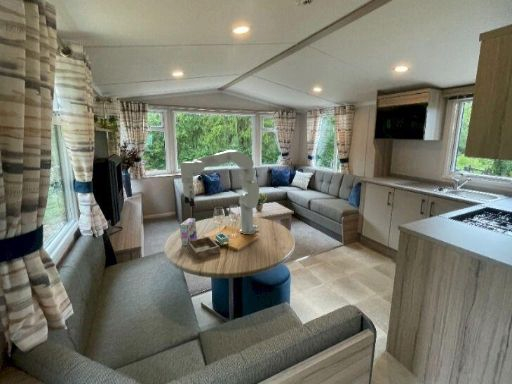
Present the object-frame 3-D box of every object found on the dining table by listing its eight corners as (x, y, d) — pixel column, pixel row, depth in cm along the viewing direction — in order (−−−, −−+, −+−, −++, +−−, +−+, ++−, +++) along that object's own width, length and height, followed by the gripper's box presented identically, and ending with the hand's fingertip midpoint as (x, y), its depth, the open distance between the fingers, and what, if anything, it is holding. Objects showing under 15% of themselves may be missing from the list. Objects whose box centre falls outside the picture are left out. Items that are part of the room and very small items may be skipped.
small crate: (223, 239, 191) (222, 232, 190) (228, 243, 183) (228, 237, 182) (215, 240, 188) (215, 234, 187) (221, 245, 180) (220, 239, 179)
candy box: (189, 246, 180) (187, 224, 177) (181, 246, 182) (179, 224, 178) (197, 238, 194) (195, 218, 190) (190, 238, 195) (188, 217, 191)
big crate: (209, 242, 186) (208, 236, 185) (220, 253, 169) (219, 246, 168) (187, 248, 178) (187, 241, 177) (196, 259, 161) (196, 252, 160)
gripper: (197, 181, 166) (199, 206, 170) (188, 177, 180) (190, 201, 184) (186, 182, 162) (188, 208, 166) (178, 179, 176) (180, 202, 180)
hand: (189, 204), depth 175 cm, fingers open, 9 cm apart
